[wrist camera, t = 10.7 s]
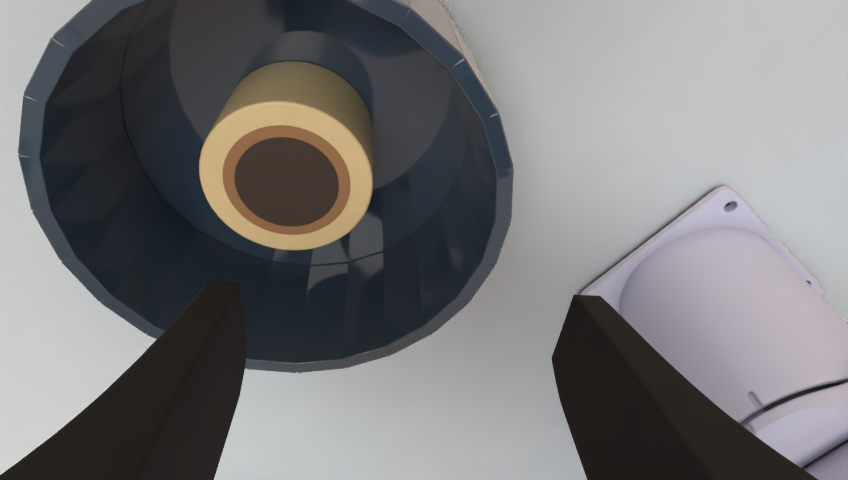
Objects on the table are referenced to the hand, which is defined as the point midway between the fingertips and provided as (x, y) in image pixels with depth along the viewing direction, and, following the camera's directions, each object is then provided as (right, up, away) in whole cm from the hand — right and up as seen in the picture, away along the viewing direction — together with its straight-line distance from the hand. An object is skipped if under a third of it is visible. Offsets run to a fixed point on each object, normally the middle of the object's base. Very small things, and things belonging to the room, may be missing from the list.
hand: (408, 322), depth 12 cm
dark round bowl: (-4, +6, +8) cm, 11 cm away
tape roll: (-4, +6, +8) cm, 10 cm away
